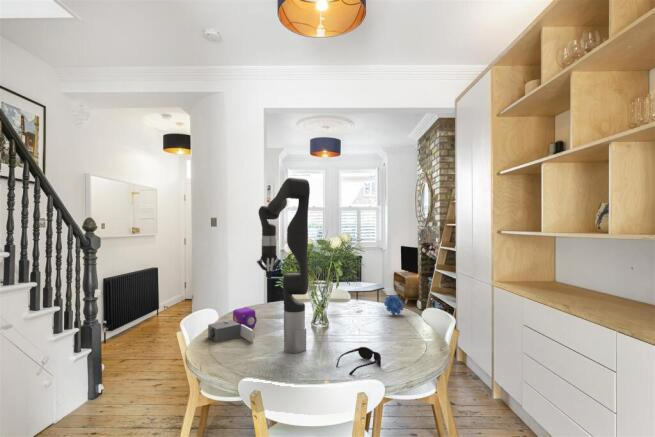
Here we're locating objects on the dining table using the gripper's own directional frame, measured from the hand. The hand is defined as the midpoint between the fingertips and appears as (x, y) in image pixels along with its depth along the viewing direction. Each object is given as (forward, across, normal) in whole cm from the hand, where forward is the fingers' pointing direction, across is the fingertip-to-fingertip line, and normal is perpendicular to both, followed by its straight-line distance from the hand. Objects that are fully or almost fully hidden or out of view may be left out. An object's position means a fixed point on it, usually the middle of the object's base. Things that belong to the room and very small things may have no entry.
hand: (268, 278), depth 179 cm
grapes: (+27, -76, +8) cm, 82 cm away
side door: (+27, +13, +7) cm, 31 cm away
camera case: (+27, +22, -2) cm, 35 cm away
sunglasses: (+28, -15, +59) cm, 67 cm away
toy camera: (+27, +9, -12) cm, 31 cm away
